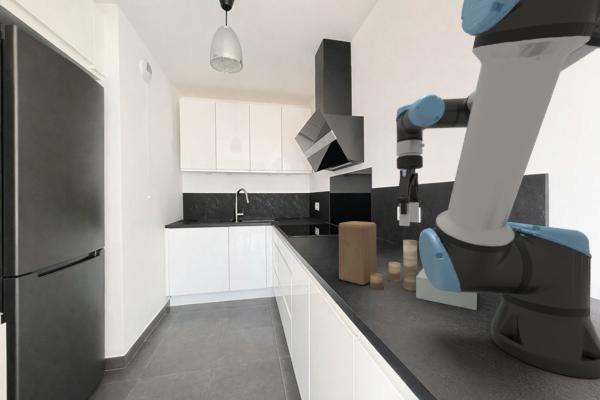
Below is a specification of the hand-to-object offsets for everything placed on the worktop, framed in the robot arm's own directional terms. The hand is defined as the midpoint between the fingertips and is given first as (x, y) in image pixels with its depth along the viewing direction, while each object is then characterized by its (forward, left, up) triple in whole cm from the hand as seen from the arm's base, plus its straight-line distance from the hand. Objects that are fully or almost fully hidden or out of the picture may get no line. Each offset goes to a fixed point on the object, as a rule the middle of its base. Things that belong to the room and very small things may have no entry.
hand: (409, 223), depth 78 cm
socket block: (0, -10, -20) cm, 23 cm away
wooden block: (-1, +17, -21) cm, 27 cm away
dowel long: (0, 0, -20) cm, 20 cm away
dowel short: (-5, +9, -20) cm, 23 cm away
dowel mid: (+5, +6, -20) cm, 22 cm away
